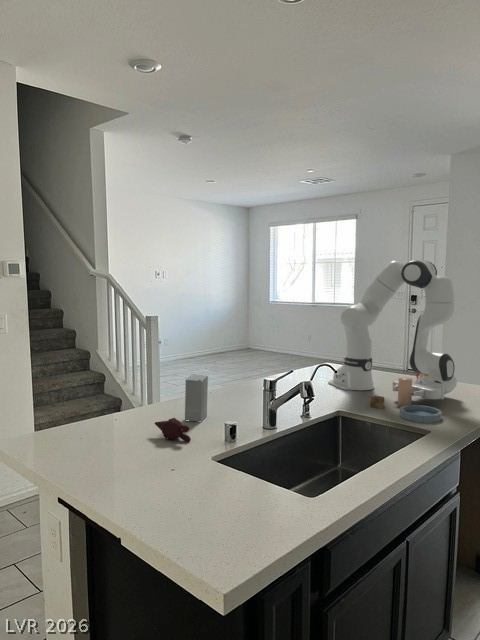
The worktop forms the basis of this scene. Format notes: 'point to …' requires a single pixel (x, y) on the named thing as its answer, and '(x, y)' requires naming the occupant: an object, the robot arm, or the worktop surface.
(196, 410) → the skincare box
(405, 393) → the peach tapered cylinder
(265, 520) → the worktop surface
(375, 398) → the walnut block
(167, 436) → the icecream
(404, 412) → the dish
